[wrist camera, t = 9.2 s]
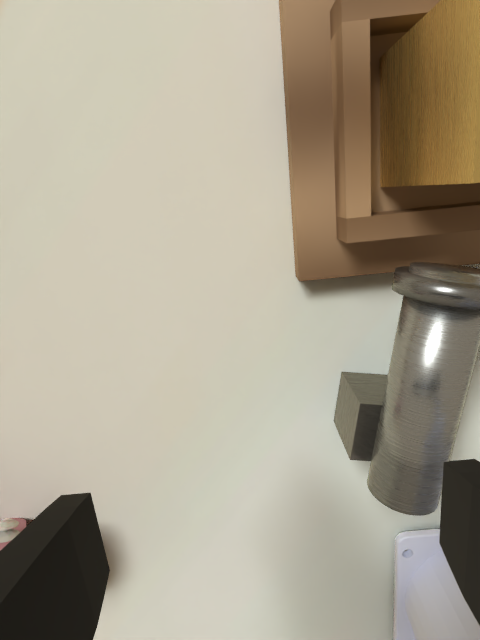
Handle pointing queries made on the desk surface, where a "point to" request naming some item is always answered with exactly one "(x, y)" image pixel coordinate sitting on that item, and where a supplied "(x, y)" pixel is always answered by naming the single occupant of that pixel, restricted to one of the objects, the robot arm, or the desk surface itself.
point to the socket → (358, 149)
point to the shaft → (415, 388)
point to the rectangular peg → (432, 100)
